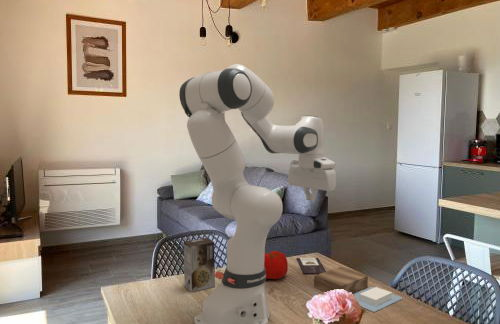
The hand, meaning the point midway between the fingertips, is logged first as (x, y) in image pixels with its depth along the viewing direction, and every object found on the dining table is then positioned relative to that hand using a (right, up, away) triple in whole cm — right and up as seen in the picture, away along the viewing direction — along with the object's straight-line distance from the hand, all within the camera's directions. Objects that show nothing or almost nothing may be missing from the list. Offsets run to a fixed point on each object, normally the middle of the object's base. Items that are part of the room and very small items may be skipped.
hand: (310, 200), depth 151 cm
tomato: (-13, -29, +5) cm, 32 cm away
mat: (+18, -31, -15) cm, 38 cm away
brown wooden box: (+10, -30, -5) cm, 32 cm away
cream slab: (+19, -28, -16) cm, 37 cm away
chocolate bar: (+3, -28, +17) cm, 33 cm away
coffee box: (-39, -30, -4) cm, 49 cm away
